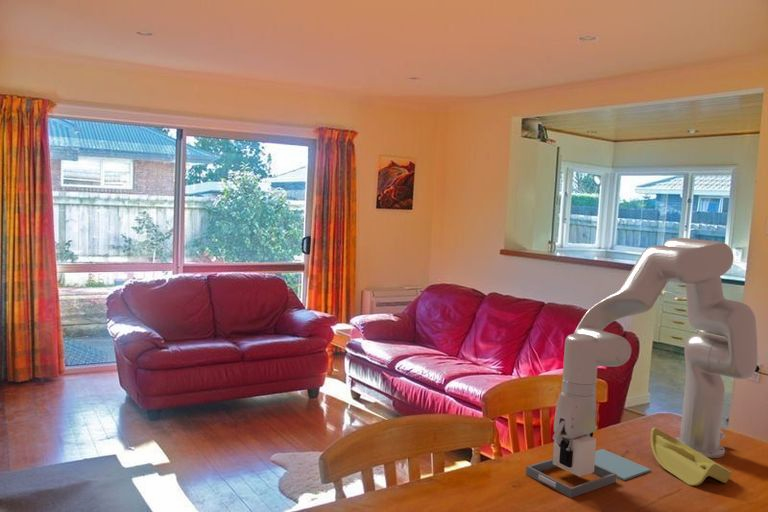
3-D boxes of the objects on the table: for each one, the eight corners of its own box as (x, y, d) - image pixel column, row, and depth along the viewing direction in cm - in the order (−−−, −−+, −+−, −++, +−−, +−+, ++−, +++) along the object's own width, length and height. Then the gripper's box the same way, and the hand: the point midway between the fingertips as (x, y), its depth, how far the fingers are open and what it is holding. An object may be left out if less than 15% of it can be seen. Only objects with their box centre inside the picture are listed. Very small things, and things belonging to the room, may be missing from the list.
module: (566, 459, 152) (568, 427, 152) (593, 472, 146) (596, 439, 145) (552, 463, 150) (554, 431, 149) (580, 477, 143) (582, 443, 142)
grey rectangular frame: (570, 461, 158) (571, 453, 157) (615, 482, 147) (616, 474, 147) (524, 474, 148) (525, 466, 148) (569, 498, 137) (570, 489, 137)
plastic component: (736, 474, 149) (710, 461, 146) (721, 501, 149) (695, 489, 146) (673, 437, 168) (649, 424, 164) (660, 461, 168) (635, 449, 164)
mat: (602, 450, 166) (602, 448, 166) (650, 471, 154) (650, 469, 154) (575, 458, 159) (575, 456, 159) (623, 480, 148) (623, 478, 148)
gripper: (588, 378, 154) (583, 449, 155) (541, 388, 144) (536, 464, 146) (615, 386, 147) (609, 460, 149) (567, 397, 138) (562, 477, 140)
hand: (573, 461), depth 147 cm, fingers closed on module, 5 cm apart
